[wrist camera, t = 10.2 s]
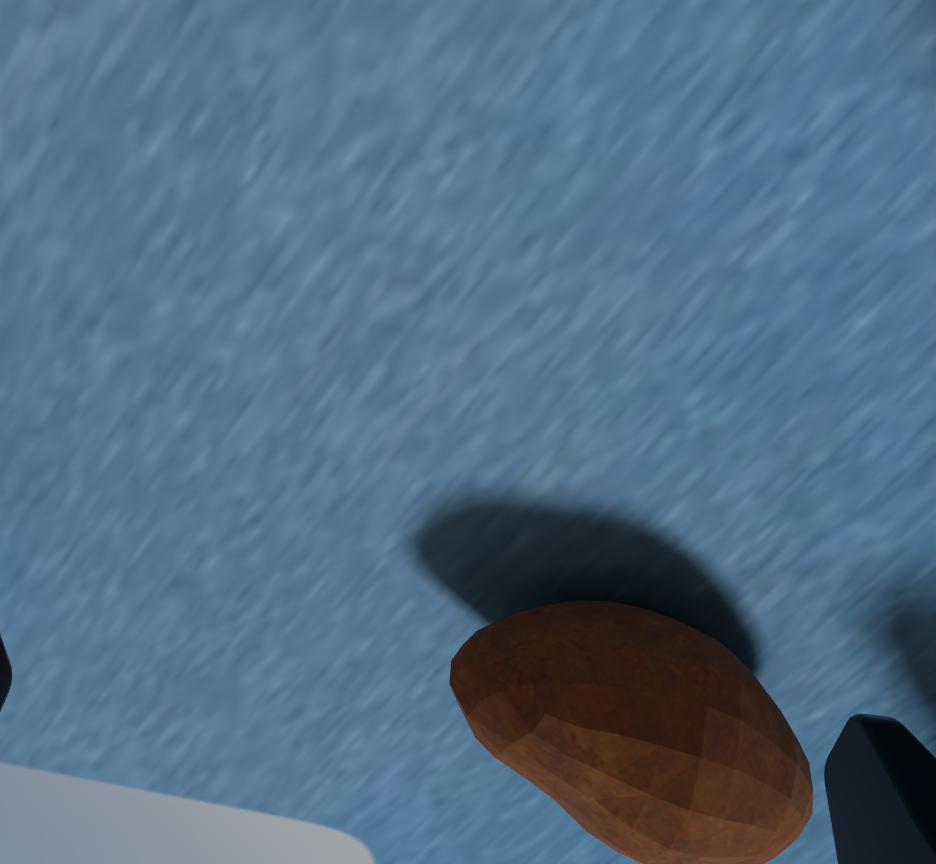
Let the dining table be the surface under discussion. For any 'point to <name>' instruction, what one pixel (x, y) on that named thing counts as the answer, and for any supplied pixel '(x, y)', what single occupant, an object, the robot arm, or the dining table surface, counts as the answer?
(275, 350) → the dining table surface
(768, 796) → the potato
